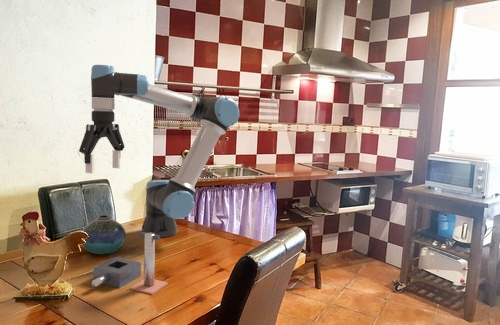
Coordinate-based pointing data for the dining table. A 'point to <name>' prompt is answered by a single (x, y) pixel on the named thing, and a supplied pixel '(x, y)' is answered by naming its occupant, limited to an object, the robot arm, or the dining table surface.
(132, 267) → the chuck block
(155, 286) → the mat
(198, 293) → the dining table surface
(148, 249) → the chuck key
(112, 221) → the vase
